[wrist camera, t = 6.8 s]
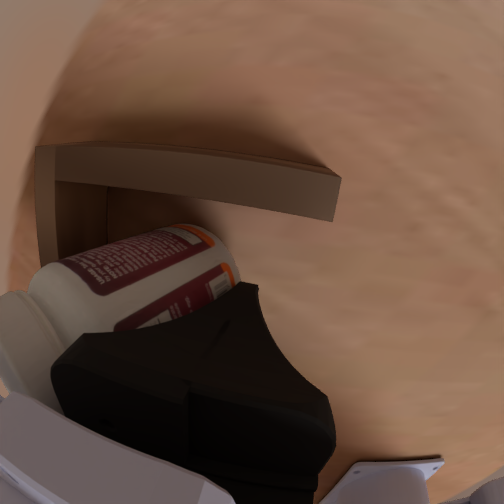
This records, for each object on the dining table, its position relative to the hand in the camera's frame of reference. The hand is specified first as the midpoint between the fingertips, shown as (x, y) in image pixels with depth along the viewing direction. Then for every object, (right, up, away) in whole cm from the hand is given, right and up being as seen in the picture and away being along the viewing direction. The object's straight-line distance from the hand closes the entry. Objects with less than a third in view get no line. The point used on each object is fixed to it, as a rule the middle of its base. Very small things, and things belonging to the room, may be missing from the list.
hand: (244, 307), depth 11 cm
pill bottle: (-2, +1, +2) cm, 3 cm away
